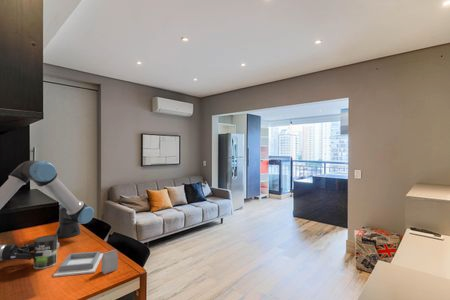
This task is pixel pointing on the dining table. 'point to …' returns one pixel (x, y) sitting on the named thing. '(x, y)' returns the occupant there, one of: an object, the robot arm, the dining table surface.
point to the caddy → (79, 264)
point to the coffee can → (44, 245)
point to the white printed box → (109, 261)
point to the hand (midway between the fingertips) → (55, 248)
